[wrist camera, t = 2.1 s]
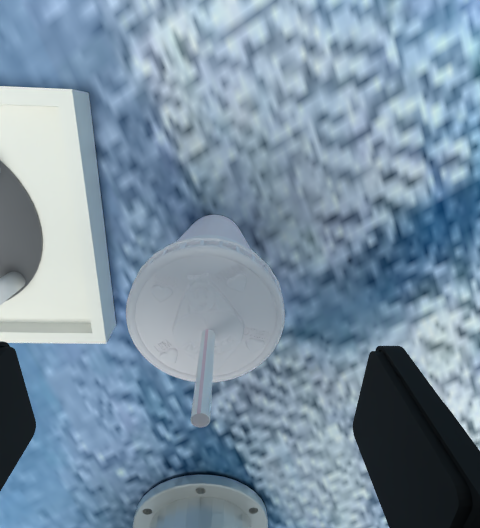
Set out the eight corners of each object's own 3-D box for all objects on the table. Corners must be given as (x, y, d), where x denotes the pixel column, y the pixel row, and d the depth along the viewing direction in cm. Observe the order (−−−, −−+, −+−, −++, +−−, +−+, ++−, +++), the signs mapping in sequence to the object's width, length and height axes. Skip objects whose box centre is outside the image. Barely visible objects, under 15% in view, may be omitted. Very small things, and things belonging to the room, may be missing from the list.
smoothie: (176, 291, 24) (114, 494, 11) (155, 200, 21) (43, 321, 8) (268, 279, 24) (316, 470, 11) (257, 186, 21) (305, 287, 8)
